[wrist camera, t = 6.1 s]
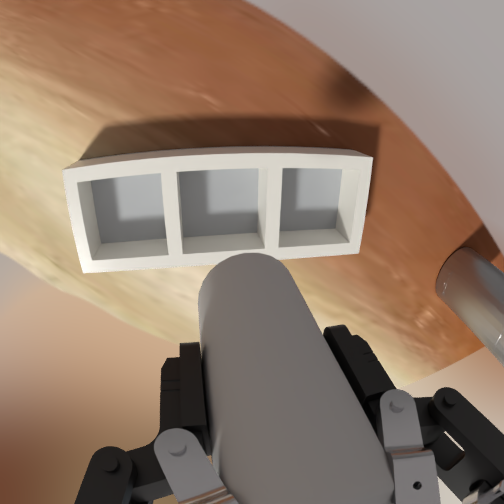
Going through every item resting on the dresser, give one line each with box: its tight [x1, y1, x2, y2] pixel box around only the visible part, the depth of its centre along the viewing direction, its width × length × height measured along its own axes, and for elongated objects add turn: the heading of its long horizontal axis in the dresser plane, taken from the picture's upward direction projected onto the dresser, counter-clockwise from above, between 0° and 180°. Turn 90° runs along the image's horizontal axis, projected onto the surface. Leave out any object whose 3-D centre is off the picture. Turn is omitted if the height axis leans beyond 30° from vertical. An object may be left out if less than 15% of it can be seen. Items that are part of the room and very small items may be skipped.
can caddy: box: [62, 146, 373, 273], centre depth 26 cm, size 26×9×4 cm, turn 90°
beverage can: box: [198, 253, 394, 504], centre depth 10 cm, size 5×5×12 cm
